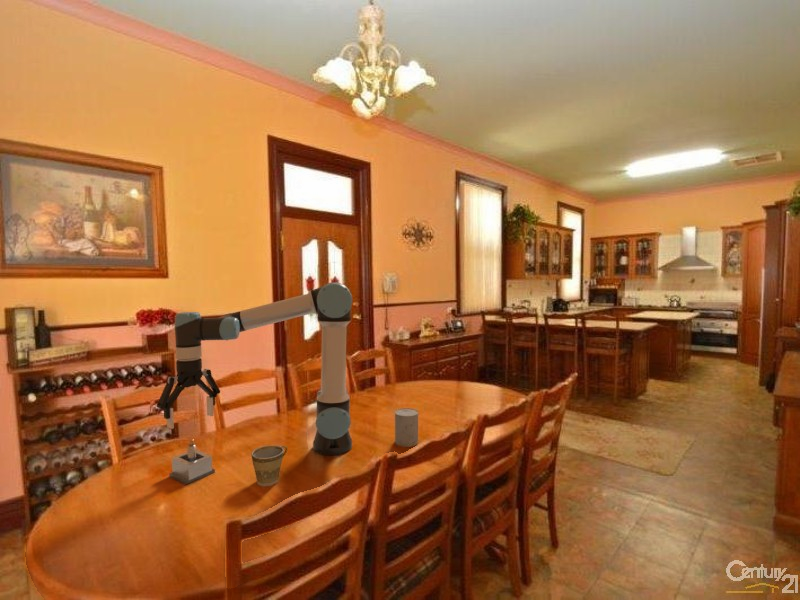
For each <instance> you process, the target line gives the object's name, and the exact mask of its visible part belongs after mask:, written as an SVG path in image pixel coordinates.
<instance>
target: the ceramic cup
mask: <svg viewBox="0 0 800 600" xmlns="http://www.w3.org/2000/svg"><path fill="white" fill-rule="evenodd" d="M284 448H285V449H284ZM287 451H288V447H287V446H286V445H282V446H280V445H276V444H275V445H274V444H273V445H272V444H271V445H270V444H269V445H263V446H260V447H257V448H255V449H254V450H253V451H252V452H251V459H252V460H251V461H252V465H253V469H254V473H255V477H256V483H257V485H258V486H260V487H270V486H274V485H275V484H278V482H279V478H280V472H281V466H282V463H283V459H284V457H285V456H286V453H287Z"/></svg>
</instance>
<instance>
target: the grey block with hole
mask: <svg viewBox="0 0 800 600" xmlns="http://www.w3.org/2000/svg"><path fill="white" fill-rule="evenodd" d="M212 468H213V457H212V455H210V454H207V453H206V452H203V451H200V450H198V449H196V460H195V461H193V462H188V451H186V452H184V453H182V454H178V455H176V456H173V457H171V469H172V472H173V473H175V474H177V475H179V476H181V477H183V478H185V479H187V480H191V479H194V478H196V477H198V476H201V475H203V474H205V473H207V472H210V471H212ZM172 472H171V473H172Z"/></svg>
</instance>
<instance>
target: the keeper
mask: <svg viewBox="0 0 800 600" xmlns="http://www.w3.org/2000/svg"><path fill="white" fill-rule="evenodd" d="M186 448H187V452H188V462H193V461H195V460H196V450H197V445H196V443H195V438H190V439H188V445H187V447H186ZM215 473H216V469H214V468H213V467H212V471H210V472H207V473H205V474H203V475H201V476H198V477H196V478H194V479H191V480H187V479H185V478H183V477H181V476H179V475H177V474H175V473H173V472H170V473H169V475H168V476H169V478H172V479H174V480H175V481H177V482H179V483H182V484H183V485H185V486H187V485H189V484H191V483H193V482H195V481H199V480H201V479H202V478H203V479H204V478H205V477H208V476H210V475H212V474H215Z"/></svg>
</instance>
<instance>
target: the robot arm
mask: <svg viewBox="0 0 800 600" xmlns="http://www.w3.org/2000/svg"><path fill="white" fill-rule="evenodd" d="M352 305H353V295H352V293H351V291H350V289H349V288H348V287H347V286H346V285H344V284H343V283H341V282H336V281H334V282H333V281H332V282H329V283H326V284H324V285H322V286H320V287H317V288H314V289H311V290H309V291H308V293H306V294H302V295H298V296H293V297H290V298H287V299H283V300H278V301H274V302H271V303H265V304H263V305H258V306H254V307H250V308H246V309H242V310H240V311H239V310H238V311H235V312H229V313H226V314H224V315H222V316H219V317H202V316H201V313H200V312H198V311H187V312H186V311H185V312H184V311H183V312H178V313H175V316H174V326H173V327H174V336H175V339H174V341H175V359H176V361H175V364H176V365H175V368H176V375H175V376H167V377H166V383H165V386H164V387H163V390H162V391H161V392H162V393H161V395H160V398H159V400H158V402H157V404H156V408H159V409H163V418H164V419H166V427H167V428H169V429H170V430H173V429H174V428H175V422H174V420H175V418H174V407H172V406H173V405H174V403H175V402H176V400H177V399H178V397H179V396H180V395H181V393H182V392H183V391H184V390H185V389H186V388H187V389H188V388H191V387H196V386H198V387H199V388H200V389H202V390H203V392H204V393H206V394H207V395H208V396H205V397H206V415H207V416H209V417H214V414H215V413H214V406H215V405H216V397H217V396H218V394H220V393H221V390H220V388H219V386H218V384H217V383H216V381H215V380H214V377H213V375H212V371H211V369H209V368H204V369H203V370H202V368H203V360H202V358H201V357H202V341H231V340H237V339H238V338H239V335H240V333H242V332H246V331H249V330H253V329H258V328H260V327H265V326H268V325H272V324H276V323H280V322H283V321H287V320H291V319H296V318H299V317H303V316H308V315H310V314H314V315H316V316H317V322H318V323H319V324H320V325H321V355H320V357H321V361H320V362H321V363H320V365H321V369H320V372H321V373H320V374H321V375H320V376H321V377H320V383H321V384H320V389H319V390H318V391H317V393H316V416H315V417H316V418H315V427H316V432H315V436H314V439H313V441H312V450H313V452H314V453H316V454H318V455H322V456H337V455H341V454H344V453H347V452H348V451H350V450H351V449H352V448H353V440H352V437H351V434H350V430H349V429H350V425H351V421H352V420H351V416H350V408H351V407H350V404H351V403H350V402H351V401H350V400H351V399H350V398H351V397H350V395H349V394H348V391H347V389H346V388H347V386H346V383H347V382H346V381H347V377H346V376H347V326H348V325H349V324H350V323H351V322H352ZM202 377H204V378H205V380H206V382H207V384H208V385H209V386H208V385H207V384H206V383H205V381H203V380H202ZM175 383H176V384H175Z"/></svg>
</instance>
